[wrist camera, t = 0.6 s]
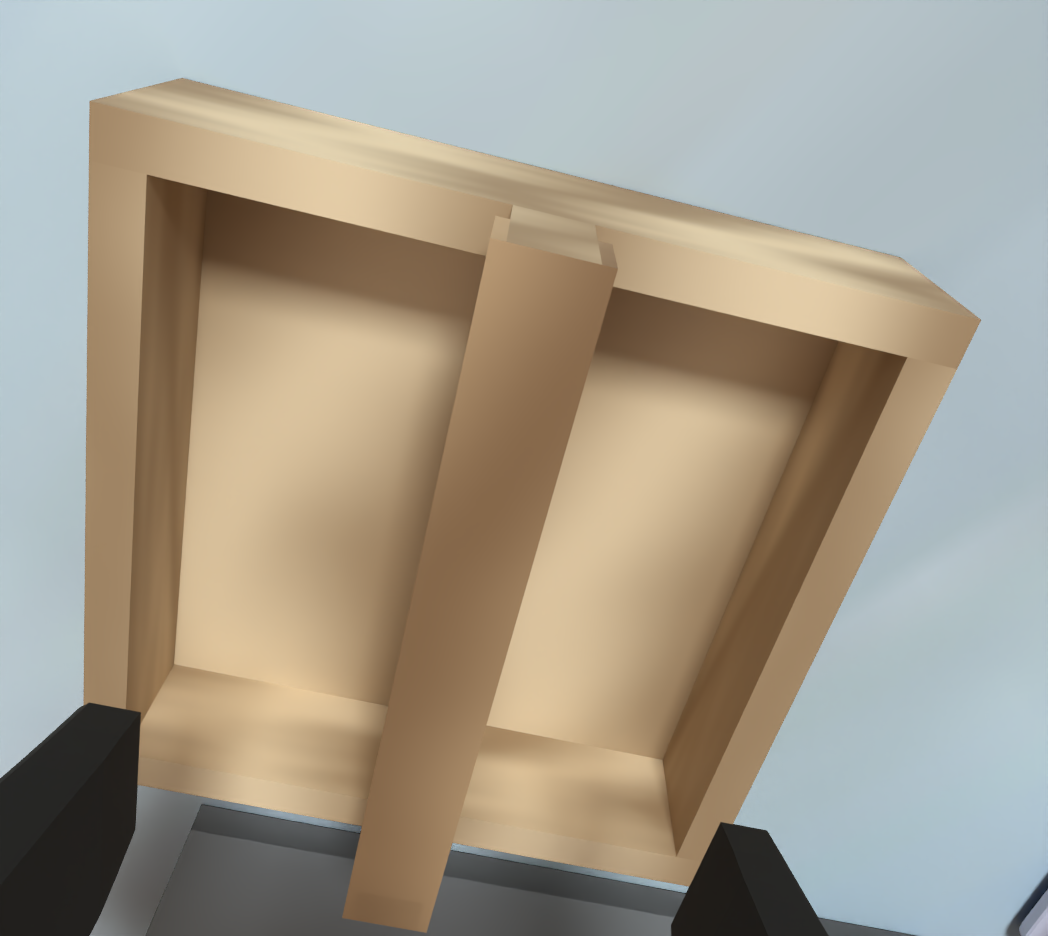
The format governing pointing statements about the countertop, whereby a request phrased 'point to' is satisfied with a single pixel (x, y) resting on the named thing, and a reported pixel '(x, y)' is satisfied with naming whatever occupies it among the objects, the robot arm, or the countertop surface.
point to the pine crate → (469, 483)
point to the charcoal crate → (320, 931)
